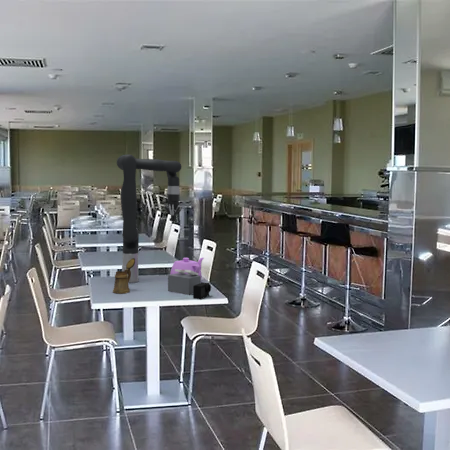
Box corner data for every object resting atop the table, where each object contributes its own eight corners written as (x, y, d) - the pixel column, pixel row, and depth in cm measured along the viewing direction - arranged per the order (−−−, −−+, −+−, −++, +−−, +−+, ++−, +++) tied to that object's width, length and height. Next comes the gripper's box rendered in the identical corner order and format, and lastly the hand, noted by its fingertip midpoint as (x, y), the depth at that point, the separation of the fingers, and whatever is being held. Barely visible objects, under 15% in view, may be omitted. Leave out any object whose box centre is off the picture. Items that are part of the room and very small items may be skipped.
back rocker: (182, 273, 331) (183, 269, 331) (188, 274, 329) (188, 270, 329) (174, 272, 325) (175, 268, 326) (180, 273, 323) (180, 269, 323)
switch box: (179, 288, 333) (179, 272, 332) (200, 291, 324) (200, 275, 323) (167, 291, 325) (168, 275, 324) (188, 294, 316) (189, 278, 315)
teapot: (188, 288, 334) (188, 261, 333) (165, 282, 350) (165, 257, 348) (217, 283, 350) (218, 258, 349) (194, 277, 365) (194, 254, 364)
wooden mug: (139, 290, 324) (139, 258, 322) (119, 294, 314) (119, 261, 312) (129, 288, 330) (129, 256, 328) (109, 291, 320) (109, 259, 319)
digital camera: (202, 299, 306) (202, 286, 305) (193, 298, 308) (193, 285, 307) (211, 295, 315) (211, 283, 314) (202, 294, 317) (202, 282, 317)
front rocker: (192, 275, 327) (192, 272, 327) (197, 276, 324) (198, 273, 325) (184, 272, 321) (185, 269, 322) (190, 273, 319) (191, 270, 319)
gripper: (161, 193, 363) (161, 221, 364) (177, 194, 355) (177, 222, 357) (169, 192, 369) (169, 220, 370) (185, 193, 361) (185, 221, 363)
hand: (173, 221), depth 364 cm, fingers closed
